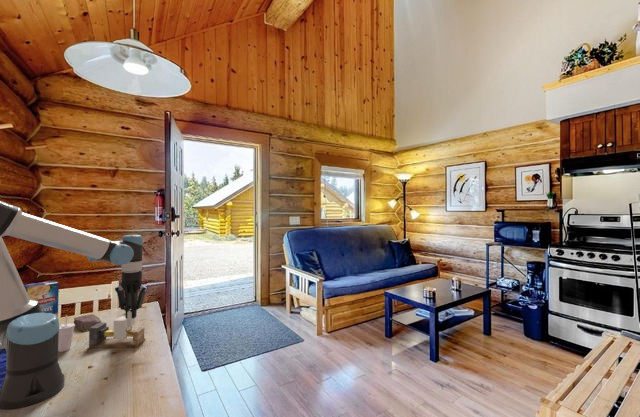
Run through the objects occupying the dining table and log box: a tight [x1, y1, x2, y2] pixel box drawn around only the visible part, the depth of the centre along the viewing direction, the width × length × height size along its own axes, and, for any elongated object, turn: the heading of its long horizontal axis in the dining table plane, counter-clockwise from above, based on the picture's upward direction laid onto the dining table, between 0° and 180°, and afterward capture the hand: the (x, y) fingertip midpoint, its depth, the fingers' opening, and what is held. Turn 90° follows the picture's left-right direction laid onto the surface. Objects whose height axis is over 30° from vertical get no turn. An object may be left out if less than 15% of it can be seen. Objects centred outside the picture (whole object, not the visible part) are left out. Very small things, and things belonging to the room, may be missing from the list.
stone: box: [73, 313, 102, 332], centre depth 144 cm, size 9×12×5 cm
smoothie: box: [58, 314, 76, 353], centre depth 120 cm, size 6×6×14 cm
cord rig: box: [88, 322, 146, 349], centre depth 126 cm, size 20×7×8 cm, turn 93°
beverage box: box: [23, 280, 60, 318], centre depth 138 cm, size 7×11×22 cm, turn 146°
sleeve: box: [112, 315, 133, 339], centre depth 126 cm, size 5×5×8 cm
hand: (130, 325), depth 126 cm, fingers closed
